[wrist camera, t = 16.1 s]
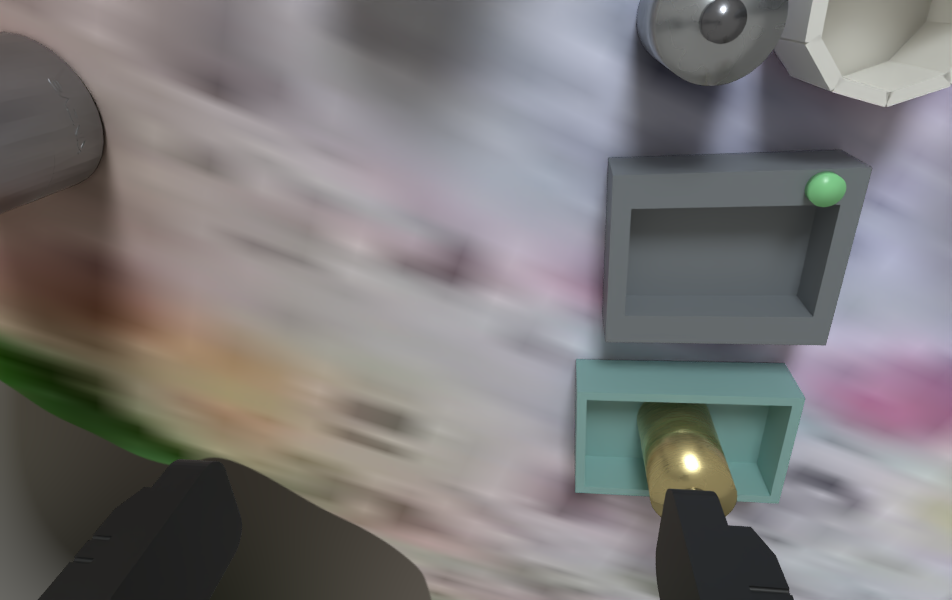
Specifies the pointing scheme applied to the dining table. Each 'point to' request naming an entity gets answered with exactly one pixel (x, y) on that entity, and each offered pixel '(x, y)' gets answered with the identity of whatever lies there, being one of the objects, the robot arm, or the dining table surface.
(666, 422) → the brass cell
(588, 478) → the trough
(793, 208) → the block
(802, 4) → the white cup
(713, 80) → the grey cell
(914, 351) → the dining table surface
